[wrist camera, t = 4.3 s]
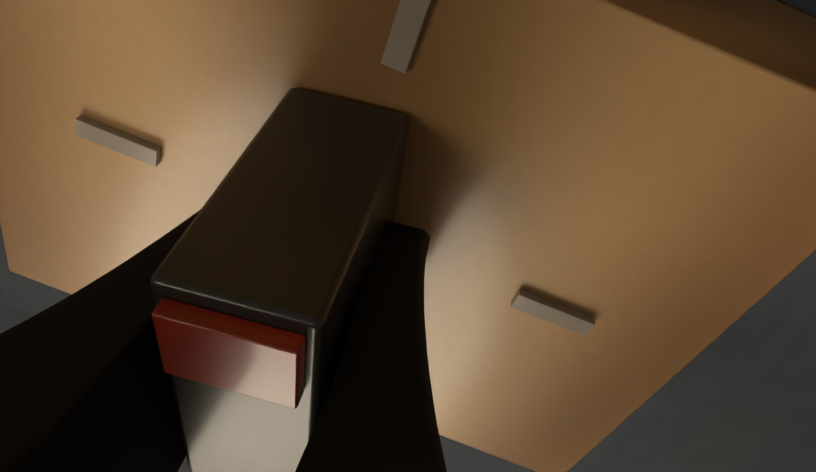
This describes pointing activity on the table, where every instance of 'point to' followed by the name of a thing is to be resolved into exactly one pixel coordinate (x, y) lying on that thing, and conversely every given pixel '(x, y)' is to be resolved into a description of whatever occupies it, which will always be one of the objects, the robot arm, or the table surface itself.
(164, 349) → the black block
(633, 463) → the table surface
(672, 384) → the table surface
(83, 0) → the panel
